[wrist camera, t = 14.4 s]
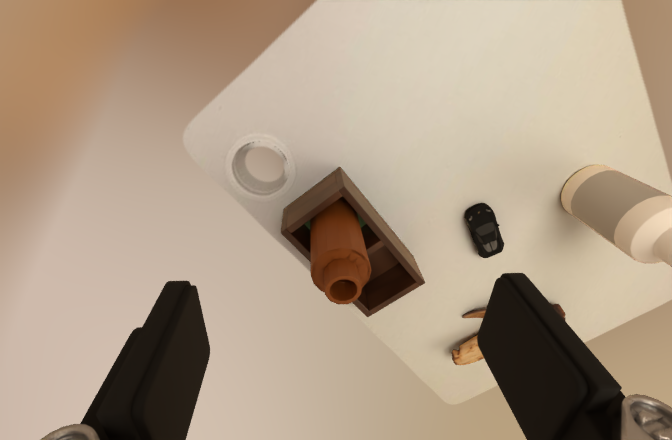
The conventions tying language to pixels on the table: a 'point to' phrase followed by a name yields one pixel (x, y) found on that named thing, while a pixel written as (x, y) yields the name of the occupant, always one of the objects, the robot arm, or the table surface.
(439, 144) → the table surface
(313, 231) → the bottle
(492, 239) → the toy car
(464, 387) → the table surface
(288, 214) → the holder
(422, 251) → the table surface
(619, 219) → the spray bottle
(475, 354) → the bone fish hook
